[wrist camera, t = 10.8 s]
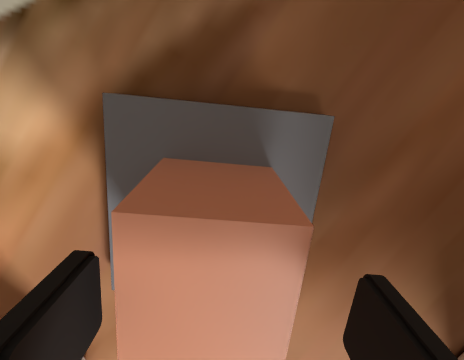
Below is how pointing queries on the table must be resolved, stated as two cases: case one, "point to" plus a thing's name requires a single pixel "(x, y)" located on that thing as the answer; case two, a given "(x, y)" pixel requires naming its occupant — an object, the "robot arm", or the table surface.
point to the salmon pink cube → (208, 263)
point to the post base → (211, 143)
